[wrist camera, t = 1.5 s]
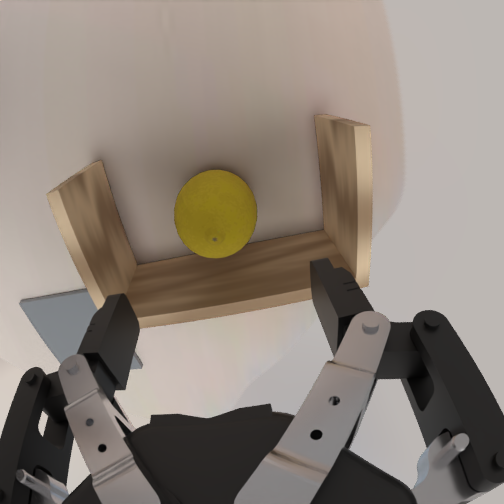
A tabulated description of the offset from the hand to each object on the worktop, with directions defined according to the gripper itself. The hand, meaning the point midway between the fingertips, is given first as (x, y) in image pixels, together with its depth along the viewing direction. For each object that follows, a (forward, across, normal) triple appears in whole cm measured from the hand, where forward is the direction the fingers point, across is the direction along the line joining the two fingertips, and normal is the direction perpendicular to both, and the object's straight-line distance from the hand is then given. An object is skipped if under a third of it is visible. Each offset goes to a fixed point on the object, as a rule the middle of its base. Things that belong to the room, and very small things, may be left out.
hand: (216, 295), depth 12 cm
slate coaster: (+13, +20, +12) cm, 26 cm away
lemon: (+13, 0, 0) cm, 13 cm away
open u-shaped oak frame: (+13, 0, 0) cm, 13 cm away
